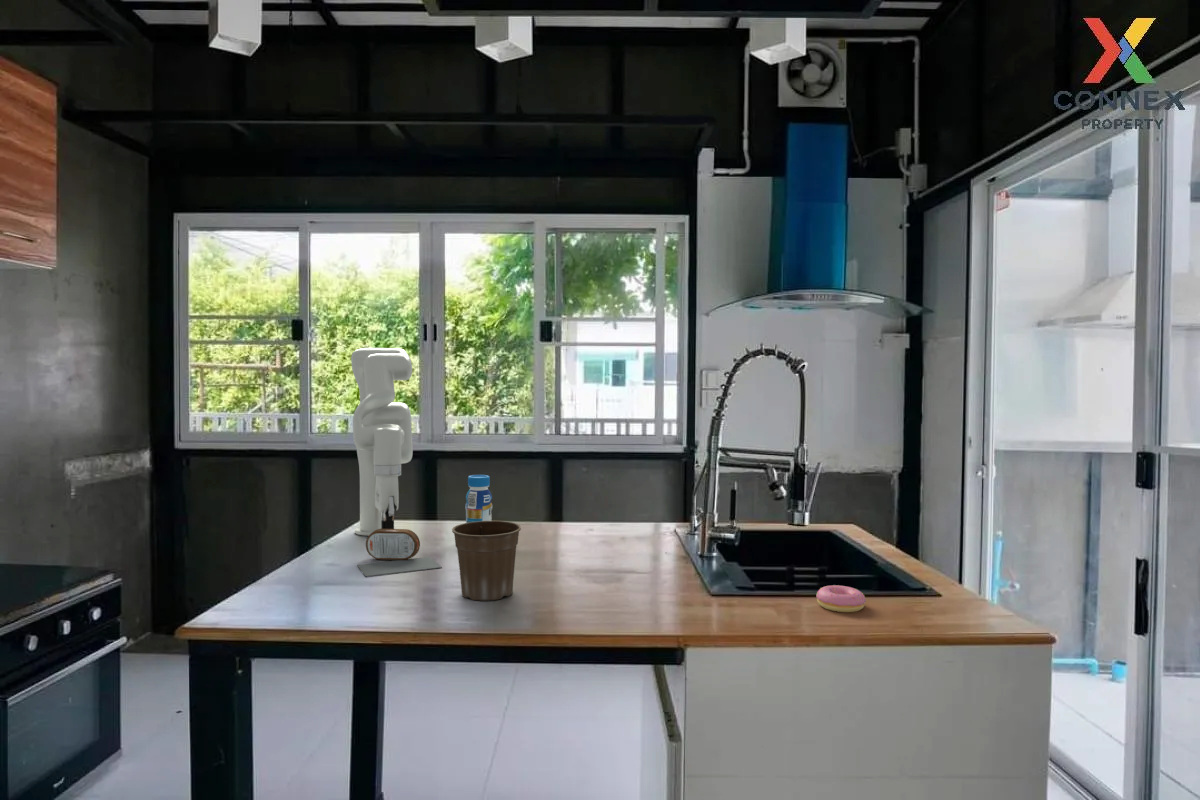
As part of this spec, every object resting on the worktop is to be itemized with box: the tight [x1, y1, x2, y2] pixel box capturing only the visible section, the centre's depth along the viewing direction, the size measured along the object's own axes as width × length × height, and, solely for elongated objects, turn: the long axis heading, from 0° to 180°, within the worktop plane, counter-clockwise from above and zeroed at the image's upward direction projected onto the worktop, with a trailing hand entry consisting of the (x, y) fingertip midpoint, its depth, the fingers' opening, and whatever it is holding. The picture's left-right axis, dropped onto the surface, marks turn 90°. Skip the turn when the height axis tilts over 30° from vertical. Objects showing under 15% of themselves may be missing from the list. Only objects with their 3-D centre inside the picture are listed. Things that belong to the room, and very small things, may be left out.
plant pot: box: [451, 520, 522, 602], centre depth 180 cm, size 16×16×16 cm
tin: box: [365, 528, 421, 561], centre depth 211 cm, size 15×3×8 cm, turn 84°
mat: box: [356, 556, 443, 577], centre depth 204 cm, size 12×20×1 cm, turn 118°
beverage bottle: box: [464, 474, 493, 523], centre depth 237 cm, size 8×8×20 cm
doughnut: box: [815, 584, 867, 613], centre depth 174 cm, size 11×11×4 cm
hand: (387, 533), depth 216 cm, fingers closed
